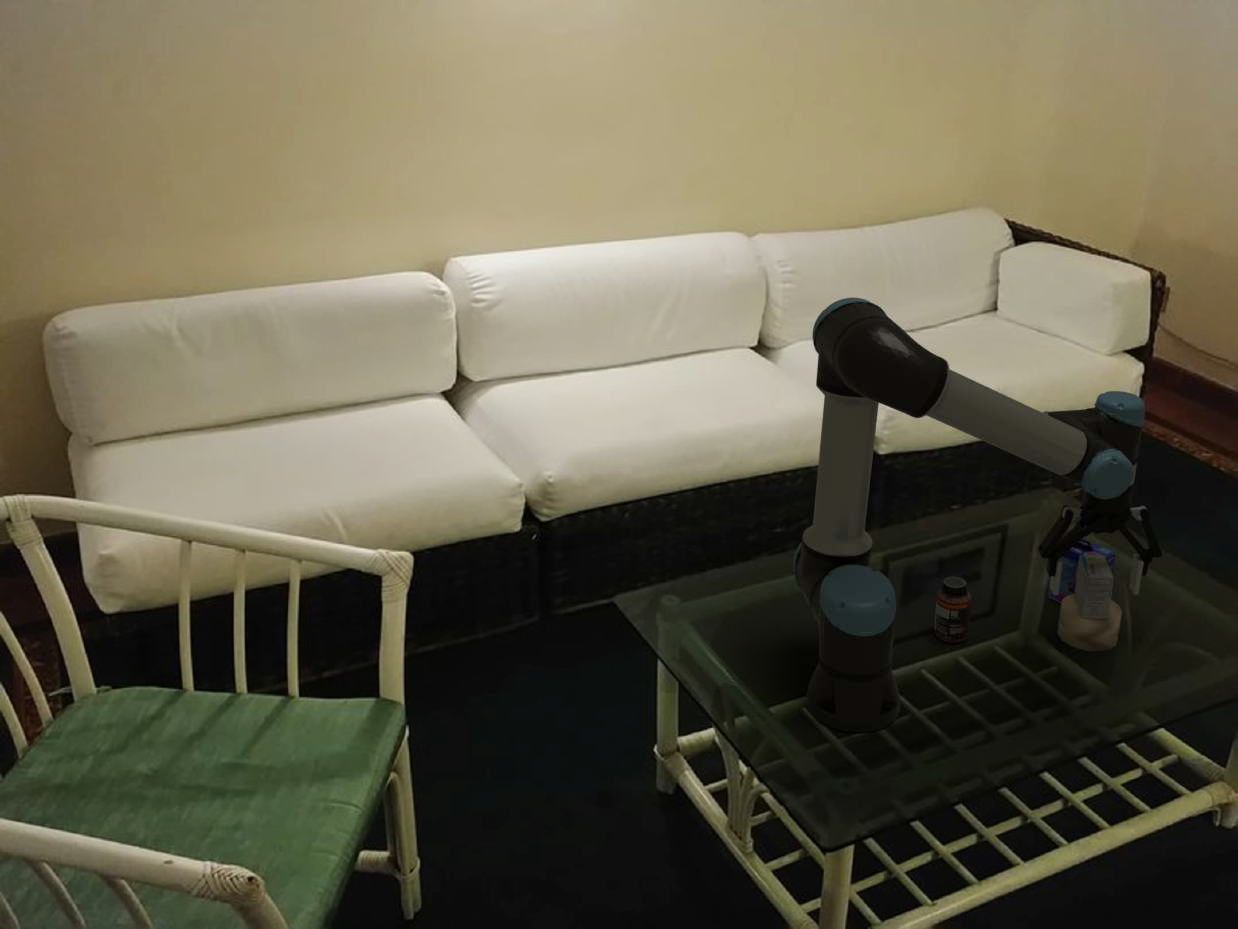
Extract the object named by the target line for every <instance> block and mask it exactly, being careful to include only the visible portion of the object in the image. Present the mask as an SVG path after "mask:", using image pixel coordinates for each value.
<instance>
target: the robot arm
mask: <svg viewBox="0 0 1238 929" xmlns="http://www.w3.org/2000/svg"><path fill="white" fill-rule="evenodd" d="M812 344H813V347H814V351H815V352H816V353H817V368H816V369H817V370H816V382H815V383H816V384H815V385H816V388H817V389H818V390H819V391H820V392H821V393H822V394H823V396H824V400H823V408H822V409H823V410H822V420H821V421H822V422H821V431H820V433H821V434H820V442H819V444H820V445H819V453H818V454H819V455H818V464H817V476H816V485H815V487H816V488H815V498H814V499H815V500H814V509H813V520H812V525H811V526H808V527H807V528H806V529H805V530H804V532H803V533H802V542H800V543H799V545H798V546H797V548H796V550H795V551H794V552H795V553H794V557H793V559H792V564H793V573H794V574H793V575H794V579H795V581H796V584H797V586H798V588H799V589H800V591H801V593H802V594H803V597H804V599H805V600H806V602H807V604H808V606H809V609H810V611H811V612H812V615H813V617H814V618H815V620H816V623H817V625H818V631H819V640H818V642H819V643H818V662H817V665H816V667H815V670H814V671H813V674H812V676H811V678H810V681H809V684H808V685H807V691H806V705H807V709H808V711H809V713H810V714H811V715H812V716H813V717H814V719H815V720H817V721H818V722H820V723H822V724H823V725H825V726H827V727H830V728H832V729H834V730H838V731H842V732H846V733H847V732H848V733H860V734H861V733H869V732H870V733H871V732H875V731H879V730H882V729H884V728H887V727H888V726H890V725H891V724H892V723H894V722H895V721H896V719H897V718H898V716H899V713H900V708H901V694H900V691H899V687H898V685H897V681H896V678H895V675H894V671H893V669H892V658H893V648H894V647H893V646H894V633H895V617H896V611H897V601H896V591H895V588H894V586H893V584H892V582H891V581H890V579H889V578H888V577H887V576H886V575H885V574H884V573H882V572H881V571H878V570H875V571H874V569H873V568H872V567H871V562H872V561H871V560H872V559H871V558H872V550H873V538H872V536H871V535H870V534H869V533H868V532H867V531H866V523H867V522H866V520H867V512H868V503H869V493H870V487H871V485H870V483H871V476H872V468H873V467H872V466H873V459H874V450H875V440H876V430H877V423H878V412H879V404H881V405H884V406H886V407H888V408H890V409H893V410H894V411H895V410H896V411H899V412H900V413H903V414H905V415H908V416H909V417H912V418H915V419H922V418H924V417H926V416H927V417H928V418H931V419H933V420H936V421H938V422H940V423H942V424H944V425H947V426H949V427H951V428H954V429H956V430H957V431H960V432H962V433H965V434H967V435H969V436H971V437H973V438H975V439H978V440H980V441H983V442H985V443H987V444H989V445H991V446H994V447H996V448H998V449H1001V450H1003V451H1005V452H1007V453H1009V454H1012V455H1014V456H1016V457H1018V458H1020V459H1023V460H1025V461H1027V462H1030V463H1032V464H1034V465H1036V466H1038V467H1041V468H1043V469H1045V470H1048V471H1050V472H1052V473H1054V474H1056V475H1058V476H1060V477H1062V478H1063V479H1067V480H1069V481H1070V482H1073V483H1075V484H1078V485H1080V487H1081V488H1082V489H1083V496H1082V504H1081V505H1080V507H1079V508H1078V507H1077V508H1076V507H1070V506H1069V505H1068V504H1065V505H1063V506H1061V507H1062V508H1061V512H1060V516H1059V517H1058V519H1057V520H1056V522H1054V524H1053V526H1052V527H1051V528H1050V530H1049V532H1047V534H1046V536H1045V537H1044V538H1043V540H1042V541H1041V543H1040V544H1039V545H1038V547H1037V551H1038V553H1039V555H1040V557H1041V558H1042V559H1047V563H1046V573H1047V575H1048V577H1050V576H1051V581H1050V589H1051V590H1052V592H1053V594H1054V595H1058V593H1059V586H1060V578H1061V570H1062V563H1063V562H1062V561H1061V559H1060V558H1061V557H1062V556H1063V555H1064V554H1066V553H1067V552H1068V551H1069V550H1070V549H1071V548H1072V547H1073V546H1074V545H1076V544H1077V543H1078V542H1079V541H1080V540H1081V539H1084V538H1085V537H1089V535H1091V533H1094V534H1096V535H1097V534H1099V535H1100V534H1105V533H1106V534H1114V533H1115V532H1117V531H1119V532H1120V533H1121V535H1122V536H1123V537H1124V538H1125V539H1126V540H1127V541H1128V543H1129V544H1130V545H1131V546H1132V547H1133V549H1134V550H1135V551H1136V552H1137V553H1138V554H1133V558H1132V563H1131V570H1130V576H1129V583H1128V588H1129V589H1130V591H1131V593H1132V594H1133V595H1134V596H1136V595H1137V596H1138V595H1139V592H1140V587H1141V580H1142V577H1146V576H1147V574H1148V571H1149V566H1150V565H1149V564H1151V563H1152V562H1153V558H1157V559H1159V558H1162V556H1163V552H1162V550H1161V548H1160V545H1159V543H1158V540H1157V539H1156V534H1155V533H1154V531H1153V528H1152V526H1151V523H1150V512H1149V510H1148V509H1147V507H1146V506H1145V504H1143V503H1140V504H1138V505H1137V506H1136V507H1131V505H1132V500H1133V491H1134V486H1133V485H1134V483H1135V478H1136V472H1137V466H1138V460H1139V459H1138V458H1139V452H1140V446H1141V440H1142V434H1143V429H1144V427H1145V415H1146V414H1145V413H1146V412H1145V409H1146V406H1145V402H1144V400H1143V399H1142V398H1141V397H1140V396H1138V395H1137V394H1134V393H1130V392H1127V391H1121V390H1119V391H1118V390H1109V391H1105V392H1104V393H1103V392H1102V393H1100V394H1098V395H1097V398H1096V400H1095V403H1094V407H1087V408H1085V409H1070V410H1057V411H1048V410H1045V411H1039V410H1038V409H1036V408H1033V407H1031V406H1029V405H1028V404H1027V405H1026V404H1025V403H1022V402H1021V401H1018V400H1016V399H1014V398H1012V397H1010V396H1008V395H1005V394H1004V393H1002V392H999V391H998V390H995V389H993V388H990V387H988V386H986V385H984V384H982V383H980V382H978V381H976V380H973V379H972V378H969V377H967V376H965V375H963V374H961V373H959V372H956V371H954V370H952V369H950V364H949V363H948V361H947V360H946V359H945V358H943V357H941V356H938V355H937V354H935V353H933V352H931V351H929V350H928V349H926V348H925V347H923V346H922V345H921V344H920V343H919V342H917V341H916V340H915V339H914V338H913V337H911V336H910V335H909V334H908V333H907V332H906V331H905V330H904V329H903V328H902V327H901V326H900V325H898V324H897V323H896V322H895V321H893V320H892V318H890V317H889V316H888V315H887V313H886V312H885V310H884V309H882V307H881V306H879V305H878V304H875V303H874V302H871V301H870V300H867V299H865V298H861V297H845V298H841V299H839V300H836V301H834V302H832V303H831V304H829V305H828V306H826V307H825V309H824V310H822V311H821V312H820V313H819V315H818V316H817V318H816V319H815V322H814V324H813V328H812ZM1132 516H1133V518H1134V520H1136V521H1138V524H1139V526H1140V529H1141V531H1142V534H1143V536H1144V538H1145V541H1146V542H1147V545H1148V548H1145V547H1144V546H1143V544H1141V542H1140V541H1139V540H1138V538H1136V536H1135V535H1134V534H1133V533H1132V531H1131V530H1130V529H1129V528H1128V527H1127V526H1126V523H1127V522H1128V521H1129V520H1130V519H1131V517H1132ZM1077 517H1080V519H1079V520H1078V521H1077V522H1076V523H1075V525H1074V527H1072V528H1071V530H1069V531H1068V529H1069V528H1070V527H1071V524H1072V522H1075V521H1076V518H1077ZM1067 531H1068V532H1067ZM1066 532H1067V533H1066ZM1061 538H1062V539H1061ZM1060 539H1061V540H1060Z"/></svg>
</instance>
